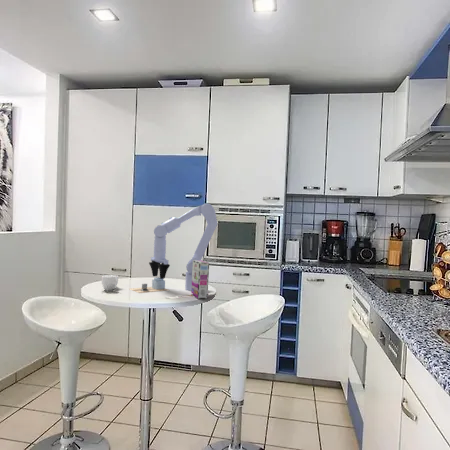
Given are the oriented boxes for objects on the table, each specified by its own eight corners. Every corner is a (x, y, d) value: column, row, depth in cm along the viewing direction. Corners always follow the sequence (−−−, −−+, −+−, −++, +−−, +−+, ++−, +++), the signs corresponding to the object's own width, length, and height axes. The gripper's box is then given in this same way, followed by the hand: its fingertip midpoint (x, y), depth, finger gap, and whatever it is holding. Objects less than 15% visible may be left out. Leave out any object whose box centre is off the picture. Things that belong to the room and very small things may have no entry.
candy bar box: (208, 298, 177) (209, 262, 177) (197, 299, 175) (199, 262, 175) (200, 294, 188) (202, 259, 187) (190, 294, 186) (192, 259, 186)
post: (149, 290, 186) (149, 284, 186) (142, 291, 184) (142, 284, 184) (146, 289, 189) (146, 283, 189) (139, 290, 187) (139, 283, 187)
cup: (98, 290, 186) (98, 276, 186) (107, 287, 196) (107, 273, 196) (114, 291, 185) (114, 277, 185) (122, 288, 195) (122, 274, 195)
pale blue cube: (164, 288, 193) (165, 278, 193) (156, 289, 190) (156, 279, 190) (160, 287, 196) (160, 277, 196) (152, 287, 193) (152, 277, 193)
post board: (169, 292, 189) (170, 290, 189) (139, 295, 179) (139, 293, 179) (158, 288, 199) (158, 286, 199) (128, 290, 189) (128, 288, 189)
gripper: (145, 248, 196) (144, 275, 196) (159, 251, 185) (158, 280, 185) (158, 248, 200) (157, 274, 201) (172, 251, 189) (171, 279, 189)
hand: (158, 277), depth 193 cm, fingers open, 7 cm apart
